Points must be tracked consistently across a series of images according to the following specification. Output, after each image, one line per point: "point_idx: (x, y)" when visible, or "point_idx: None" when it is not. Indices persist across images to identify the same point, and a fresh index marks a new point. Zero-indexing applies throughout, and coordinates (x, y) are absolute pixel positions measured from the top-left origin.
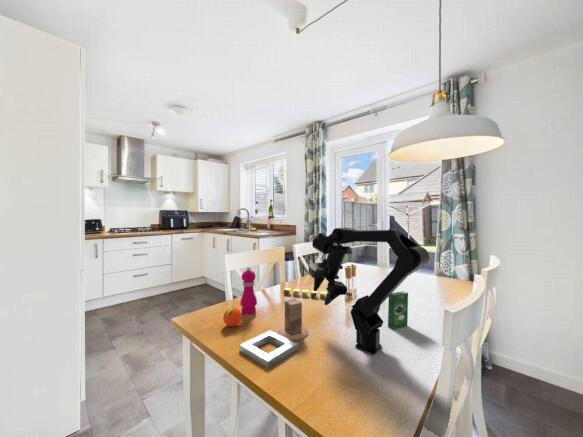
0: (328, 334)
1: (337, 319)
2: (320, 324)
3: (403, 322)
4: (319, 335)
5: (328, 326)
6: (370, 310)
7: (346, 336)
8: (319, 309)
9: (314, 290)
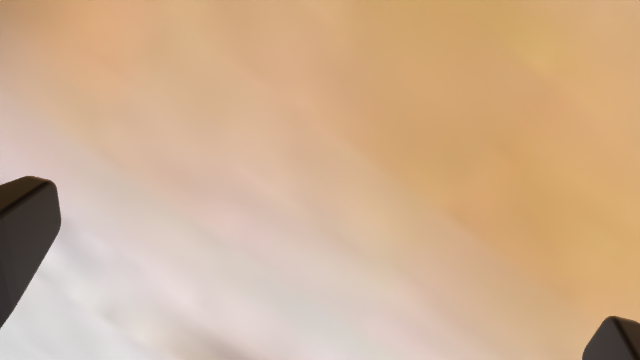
0: (144, 102)
1: (356, 346)
2: (362, 160)
3: None
4: (167, 6)
5: (286, 201)
6: None
7: None
8: None
9: (610, 330)
